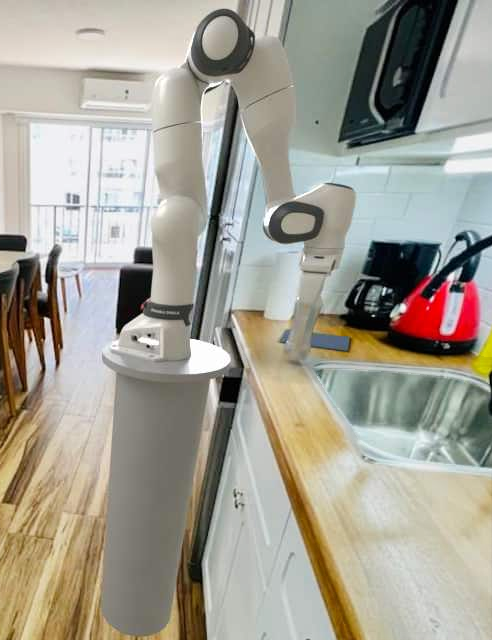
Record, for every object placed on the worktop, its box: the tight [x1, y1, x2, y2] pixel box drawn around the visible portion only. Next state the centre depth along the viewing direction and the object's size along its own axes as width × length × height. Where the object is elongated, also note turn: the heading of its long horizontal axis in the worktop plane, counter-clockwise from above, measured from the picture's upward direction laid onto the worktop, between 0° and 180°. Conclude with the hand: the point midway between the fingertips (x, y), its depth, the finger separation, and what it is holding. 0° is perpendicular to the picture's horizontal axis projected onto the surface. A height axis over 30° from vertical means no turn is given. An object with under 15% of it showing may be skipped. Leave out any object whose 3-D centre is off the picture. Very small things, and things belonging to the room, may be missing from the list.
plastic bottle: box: [282, 294, 324, 362], centre depth 123 cm, size 6×7×20 cm
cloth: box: [279, 329, 351, 352], centre depth 146 cm, size 18×16×1 cm
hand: (305, 317), depth 122 cm, fingers closed on plastic bottle, 6 cm apart
